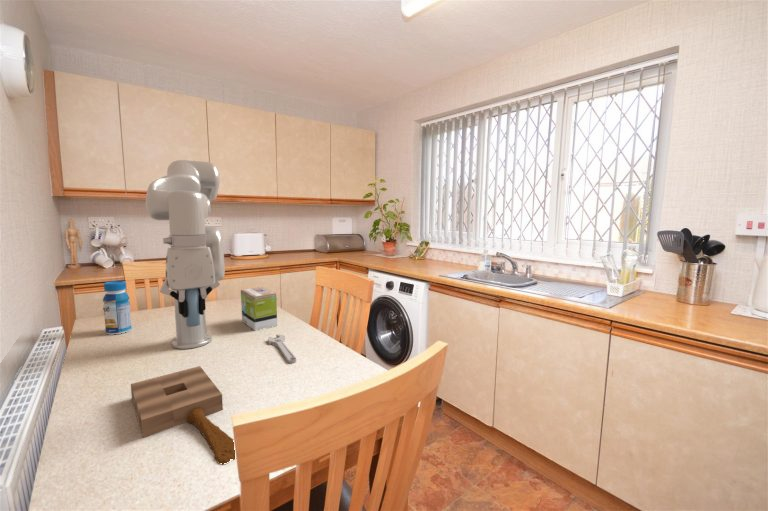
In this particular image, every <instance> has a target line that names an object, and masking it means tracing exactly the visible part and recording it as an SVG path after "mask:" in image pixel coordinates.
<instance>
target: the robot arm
mask: <svg viewBox="0 0 768 511" xmlns="http://www.w3.org/2000/svg"><path fill="white" fill-rule="evenodd" d="M166 174H167V175H164V176H162V177H161V178H159V179H155V180H154V181H151V183H149V184H148V187H147V189H146V197H145V209H146V212H147V214H148V215H149V217H150V218H151V219H153V220H156V221H168V224H169V234H168V235H169V236H167V237H163V239H162V242H163V245H164V244H165V245H166V244H167V245H169V246H170V247H167V251H166V255H165V256H166V259H165V280H164V281H163V283H162V285H161V287H160V289H159V293H161V294H163V295H165V296H170V297H172V298H173V300H174V302H173V303H174V315H175V316H174V318H175V333H176V334H175V335H176V338H175V339H173V340H172V342H171V345H172V347H173V348H174V349H177V350H178V349H179V350H181V349H182V350H183V349H185V350H187V349H195V348H199V347H202V346H205V345H208V344H209V343H210V342H211V341H212V336H211V335H210V334H208V333H207V320H206V299H207V297H208V295H209V294H210V293H211V292H212V291H213V290H215V289H217V288H219V286H220V285H221V284H220V281H222V280H223V279H224V277H225V273H226V267H225V266H226V265H225V252H224V241H223V240H224V239H223V235H222V231H221V230H220V229H219V228H218V227H216V226H206V221H205V220H206V219H207V218H208V216H209V215H210V214H211V209H212V205H211V201H215V200H216V199H217V197H218V194H219V188H220V181H221V178H220V172H219V169H218V167H217V166H216V165H215V164H214V163H213V162H209V161H199V160H198V161H197V160H187V159H178V160H175V161H172V162H170V163H169V164H168V167H167V171H166ZM195 288H198V293H199V313H200V325H198V326H193V327H188V326H187V325H186V317H188V311H187V302H186V301H185V290H187V289H195Z"/></svg>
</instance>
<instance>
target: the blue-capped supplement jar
mask: <svg viewBox="0 0 768 511" xmlns="http://www.w3.org/2000/svg"><path fill="white" fill-rule="evenodd" d="M103 290H104V292H105V294H104V296H103V297H102V302H103V306H102V310H103V317H104V324H105V325H104V326H105V334H107V335H109V336H115V335H114V334H116V335H121V333H122V334H126V333H128V332H130V331H131V330H132V320H131V319H132V315H131V302H130V301H129V300H130V296H129V294H128V293H127V292H126V290H127V282H126V281H125V280H112V281H107V282H104V284H103ZM125 332H126V333H125Z"/></svg>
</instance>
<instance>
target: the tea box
mask: <svg viewBox="0 0 768 511" xmlns="http://www.w3.org/2000/svg"><path fill="white" fill-rule="evenodd" d="M277 300H278V299H277V292H274V291H272V290H269V289H268V288H266V287H264V286H259V287H254V288H253V287H252V288H245V289H240V305H241V320H242V321H241V322H242V323H244V324H246V325H247V326H248V327H249V328H251V329H253V331H256V330H257V331H261V330H260V329H262V330H264V329H263V328H266V329H269V328H268V327H270V328H273V327H272V326H274V327H276V326H278V307H277V306H278V304H277Z"/></svg>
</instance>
